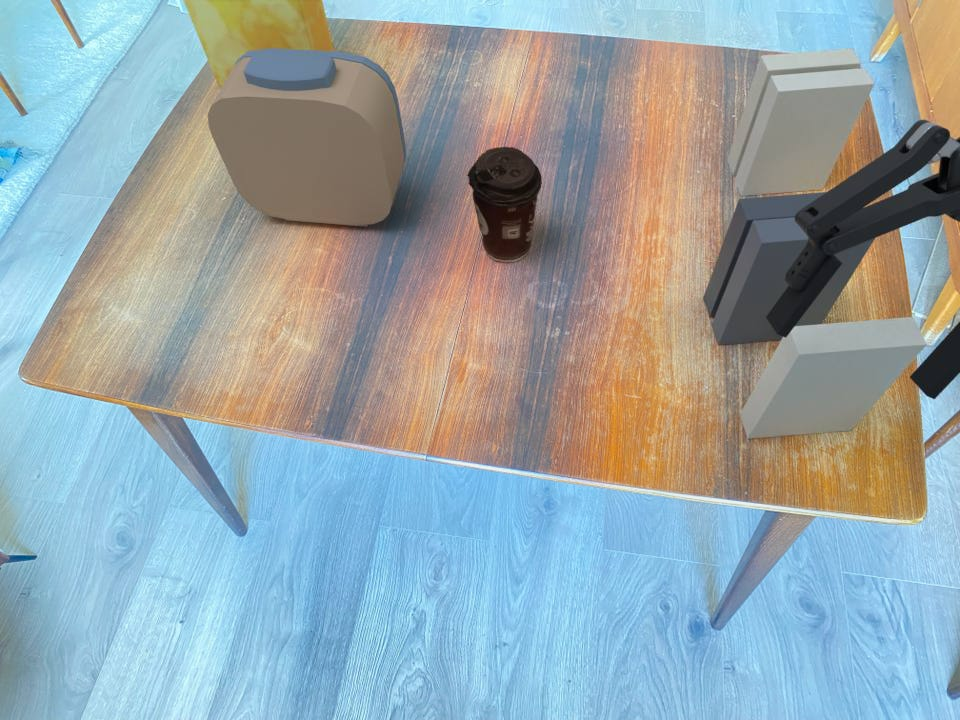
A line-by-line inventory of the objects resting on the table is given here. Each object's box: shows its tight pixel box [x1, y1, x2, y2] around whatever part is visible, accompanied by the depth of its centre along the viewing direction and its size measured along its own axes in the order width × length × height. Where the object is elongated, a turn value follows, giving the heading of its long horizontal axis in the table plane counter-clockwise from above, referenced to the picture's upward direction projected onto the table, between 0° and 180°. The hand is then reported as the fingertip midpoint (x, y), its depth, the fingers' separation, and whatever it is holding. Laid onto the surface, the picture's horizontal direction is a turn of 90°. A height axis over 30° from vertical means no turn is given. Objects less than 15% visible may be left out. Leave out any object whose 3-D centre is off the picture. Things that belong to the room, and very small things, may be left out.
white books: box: [726, 47, 875, 197], centre depth 87 cm, size 7×11×16 cm, turn 94°
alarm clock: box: [207, 48, 407, 228], centre depth 85 cm, size 21×10×22 cm, turn 81°
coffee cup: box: [467, 146, 543, 264], centre depth 83 cm, size 9×8×13 cm
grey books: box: [702, 191, 876, 346], centre depth 73 cm, size 7×11×17 cm, turn 94°
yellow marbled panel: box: [183, 0, 335, 90], centre depth 101 cm, size 18×12×24 cm
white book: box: [739, 316, 928, 440], centre depth 66 cm, size 3×11×16 cm, turn 94°
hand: (849, 358), depth 53 cm, fingers open, 13 cm apart
